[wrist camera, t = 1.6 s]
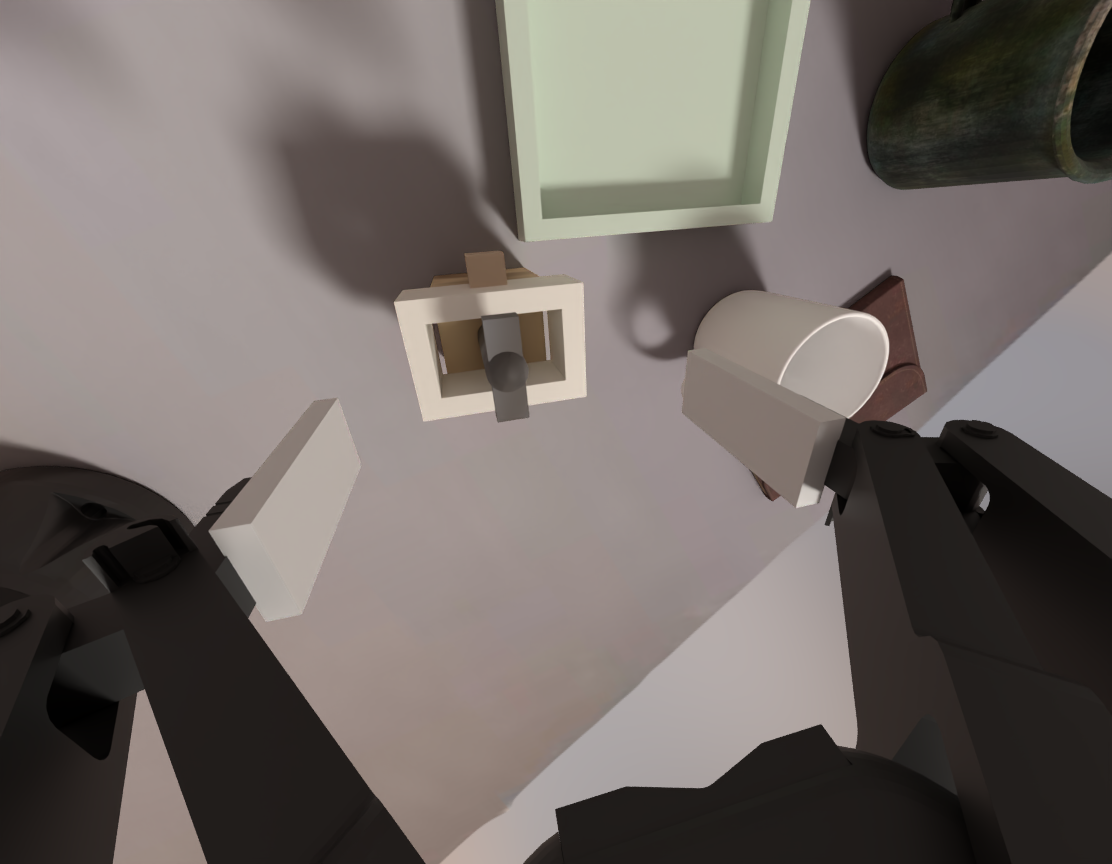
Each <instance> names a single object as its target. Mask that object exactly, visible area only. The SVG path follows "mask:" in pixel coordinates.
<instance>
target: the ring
mask: <svg viewBox="0 0 1112 864" xmlns="http://www.w3.org/2000/svg"><path fill="white" fill-rule="evenodd" d="M464 255H465V262H466V268H467V274H468V281H469V284H460V285H450V286H440V287H430V288H419V289H409V290H402V292H401V293H400V294H399V296H398V297H397V298H396V300H395V301H394V305H395V309H396V313H397V317H398V321H399V325H400V329H401V333H402V337H403V341H404V345H405V349H406V353H407V357H408V361H409V365H410V369H411V373H412V377H413V381H414V385H415V389H416V393H417V397H418V401H419V405H420V409H421V413H422V417H423V421H431V420H437V419H444V418H450V417H457V416H463V415H470V414H476V413H483V412H489V411H495V405H494V399H493V392H492V386H491V385H490V383H489V382H488V380H487V376H486V372H485V369H480V370H473V371H465V372H458V373H451V374H443V373H442V368H441V363H440V359H439V354H438V349H437V344H436V340H435V335H434V330H433V325H432V324H433V323H442V322H451V321H460V320H469V319H478V318H481V316H485V315H494V314H503V313H512V312H516V313H517V314H522V313H531V312H539V311H547V314H548V328H549V341H550V355H551V360H547V361H539V362H532V363H527V365H528V369H529V374H528V378H527V381H526V389H527V399H528V405H535V404H541V403H548V402H554V401H561V400H567V399H574V398H580V397H587V395H586V361H585V326H584V292H583V282H581V281H578V280H576V279H574V278H572V277H569V276H567V275H565V274H562V275H552V276H542V277H532V278H522V279H511V280H507V276H506V268H505V259H504V252H502V251H488V252H476V253H464Z"/></svg>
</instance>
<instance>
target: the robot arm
mask: <svg viewBox="0 0 1112 864" xmlns="http://www.w3.org/2000/svg"><path fill="white" fill-rule="evenodd" d="M682 413H683V414H684V415H685V416H686V417H687V418H689V419H690V420H691V421H692V422H693V423H695V424H696V425H697V426H698V427H699V428H701V429H702V430H703V431H704V432H705V433H707V434H708V435H709V436H710V437H711V438H713V439H714V440H715V441H716V442H717V443H719V444H720V445H721V446H722V447H723V448H725V449H726V450H727V451H728V452H729V453H731V454H732V455H733V456H734V457H735V458H737V459H738V460H739V461H740V462H741V463H743V464H744V465H745V466H746V467H747V468H749V469H750V470H751V471H752V472H753V473H755V474H756V475H757V476H758V477H759V478H761V479H762V480H763V481H764V482H765V483H766V484H768V485H769V486H770V487H771V488H772V489H774V490H775V491H776V492H777V493H778V494H780V495H781V496H782V497H783V498H784V499H786V500H787V501H788V502H789V503H790V504H792V505H793V506H794V507H795V508H798V507H803V506H807V505H812V504H816V503H819V501H820V498H821V495H822V492H823V489H824V486H825V485H826V486H827V487H829V488H830V489H832V490H833V491H834V492H836V493H835V496H834V498H833V501H832V504H831V507H830V510H829V513H828V516H827V519H826V522H825V525H827V526H829V525H830V522H831V521H834V528H835V537H836V545H837V553H838V562H839V571H840V580H841V588H842V597H843V605H844V614H845V622H846V630H847V639H848V648H849V657H850V665H851V674H852V682H853V691H854V699H855V708H856V717H857V727H858V737H857V745H856V749H853V748H847V747H842V746H837V745H836V744H835V742H834V741H833V740H832V738H831V737H830V736H829V734H828V733H827V731H826V730H825V729H824V727H823V726H822V725H817V726H814V727H811V728H808V729H805V730H801V731H799V732H796V733H792V734H789V735H786V736H783V737H780V738H776V739H773V740H770V741H767V742H764V743H761V744H760V745H759V746H758V747H757V748H756V749H754V750H753V751H752V752H750V754H748V755H747V756H746V757H745V758H743V759H742V760H741V761H740V762H739V763H737V764H736V765H735V766H734V767H732V768H731V769H730V770H729V771H728V772H726V773H725V774H724V775H723V776H722V777H720V778H719V779H718V780H717V781H715V782H714V783H713V784H712V785H710V786H708V787H705V788H662V787H623V788H620V789H617V790H614V791H611V792H608V793H605V794H601V795H598V796H595V797H592V798H589V799H586V800H583V801H580V802H576V803H574V804H570V805H567V806H564V807H561V808H558V809H555V811H556V818H557V824H558V830H559V833H558V832H557V833H556V834H554V835H553V836H552V837H550V838H549V839H548V840H546V841H545V842H544V843H542V844H541V846H540V847H539V848H538V849H536V851H535V852H534V853H533V854H532V855H531V856H530V857H529V858H528V859H527V860H526V861H525V862H524V863H523V864H1112V499H1111V498H1110V497H1108V496H1107V495H1105V494H1104V493H1102V492H1100V491H1099V490H1098V489H1096V488H1094V487H1093V486H1091V485H1090V484H1088V483H1087V482H1085V481H1084V480H1082V479H1081V478H1079V477H1078V476H1076V475H1075V474H1073V473H1071V472H1070V471H1068V470H1067V469H1065V468H1064V467H1062V466H1061V465H1059V464H1058V463H1056V462H1055V461H1053V460H1052V459H1050V458H1048V457H1047V456H1045V455H1044V454H1042V453H1041V452H1039V451H1037V450H1036V449H1034V448H1033V447H1032V446H1030V445H1029V444H1027V443H1025V442H1024V441H1022V440H1021V439H1019V438H1018V437H1016V436H1015V435H1013V434H1012V433H1010V432H1008V431H1006V430H1004V429H1002V428H999V427H996V426H993V425H992V424H990V423H987V422H981V421H977V420H972V421H968V420H952V421H949V422H946V424H945V426H944V428H943V430H942V432H941V434H940V437H920V435H919V434H918V433H917V432H916V431H914V430H912V429H911V428H908V427H906V426H903V425H900V424H897V423H893V422H887V421H877V420H870V421H864V422H861V423H857V422H855V421H853V420H851V419H848V418H846V417H844V416H842V415H840V414H838V413H836V412H834V411H832V410H830V409H828V408H825V407H824V406H822V405H820V404H818V403H815V402H814V401H812V400H810V399H808V398H806V397H804V396H802V395H799V394H797V393H795V392H793V391H791V390H789V389H787V388H785V387H783V386H781V385H779V384H777V383H775V382H773V381H771V380H769V379H767V378H765V377H763V376H761V375H759V374H757V373H755V372H753V371H751V370H749V369H747V368H745V367H743V366H741V365H739V364H737V363H735V362H733V361H730V360H728V359H726V358H724V357H722V356H720V355H718V354H716V353H714V352H712V351H710V350H708V349H706V348H702V349H695V350H688V355H687V365H686V375H685V385H684V396H683V406H682ZM360 467H361V462H360V459H359V456H358V453H357V451H356V448H355V445H354V442H353V439H352V437H351V434H350V431H349V428H348V425H347V422H346V420H345V417H344V414H343V411H342V408H341V406H340V403H339V400H338V398H333V399H325V400H318V401H314V402H313V403H312V404H311V405H310V407H309V408H308V409H307V410H306V411H305V413H304V414H303V415H302V416H301V418H300V419H299V420H298V421H297V423H296V424H295V425H294V426H293V427H292V429H291V430H290V431H289V432H288V434H287V435H286V436H285V437H284V439H283V440H282V441H281V442H280V443H279V445H278V446H277V447H276V448H275V450H274V451H273V452H272V453H271V455H270V456H269V457H268V458H267V459H266V461H265V462H264V463H263V464H262V466H261V467H260V468H259V469H258V471H257V472H256V473H255V474H254V475H253V477H250V478H244V479H243V480H241V481H240V482H238V483H237V484H236V485H234V486H233V487H231V488H230V489H228V490H227V491H226V492H225V493H224V494H223V495H222V497H221V498H220V499H219V500H218V501H217V502H216V503H215V504H216V506H213V507H212V508H211V509H210V510H209V512H208V513H207V514H206V517H203V518H202V520H201V521H200V522H199V523H198V524H197V525H196V526H195V527H194V526H193V524H192V523H191V522H190V521H189V520H188V519H187V518H186V517H185V516H184V514H182V513H181V512H180V511H179V510H178V509H177V508H176V507H174V506H173V505H172V504H170V503H169V502H167V501H166V500H165V499H163V498H161V497H160V496H158V495H156V494H155V493H153V492H151V491H149V490H147V489H145V488H143V487H141V486H139V485H136V484H134V483H131V482H129V481H126V480H123V479H121V478H117V477H114V476H111V475H107V474H103V473H99V472H95V471H90V470H84V469H78V468H70V467H56V466H35V467H23V468H15V469H10V470H5V471H1V472H0V864H113V857H114V850H115V843H116V836H117V829H118V822H119V815H120V808H121V801H122V794H123V787H124V780H125V774H126V767H127V760H128V753H129V746H130V739H131V732H132V725H133V718H134V711H135V704H136V697H137V692H139V691H141V690H144V689H145V691H146V694H147V696H148V699H149V702H150V705H151V708H152V710H153V713H154V716H155V719H156V721H157V724H158V727H159V730H160V733H161V735H162V738H163V741H164V744H165V747H166V749H167V752H168V755H169V758H170V761H171V763H172V766H173V769H174V772H175V774H176V777H177V780H178V783H179V786H180V788H181V791H182V794H183V797H184V800H185V802H186V805H187V808H188V811H189V813H190V816H191V819H192V822H193V825H194V827H195V830H196V833H197V836H198V839H199V841H200V844H201V847H202V850H203V853H204V855H205V858H206V861H207V864H425V862H424V861H423V859H422V858H421V857H420V855H419V854H418V852H417V851H416V850H415V848H414V847H413V845H412V844H411V843H410V841H409V840H408V839H407V837H406V836H405V834H404V833H403V832H402V830H401V829H400V827H399V826H398V825H397V823H396V822H395V820H394V819H393V818H392V816H391V815H390V814H389V812H388V811H387V810H386V808H385V807H384V805H383V804H382V803H381V802H380V800H379V799H378V798H377V797H376V796H375V795H374V794H373V792H372V791H371V790H370V788H369V787H368V785H367V784H366V783H365V781H364V780H363V778H362V777H361V776H360V774H359V773H358V771H357V770H356V769H355V767H354V766H353V764H352V763H351V762H350V760H349V759H348V757H347V756H346V755H345V753H344V752H343V750H342V749H341V748H340V746H339V745H338V743H337V742H336V741H335V739H334V738H333V737H332V735H331V734H330V732H329V731H328V730H327V728H326V727H325V725H324V724H323V723H322V721H321V720H320V718H319V717H318V716H317V714H316V713H315V711H314V710H313V709H312V707H311V706H310V704H309V703H308V702H307V700H306V699H305V697H304V696H303V695H302V693H301V692H300V690H299V689H298V688H297V686H296V685H295V683H294V682H293V681H292V679H291V678H290V676H289V675H288V674H287V672H286V671H285V669H284V668H283V667H282V665H281V664H280V662H279V661H278V660H277V658H276V657H275V655H274V654H273V653H272V651H271V650H270V648H269V647H268V646H267V644H266V643H265V641H264V640H263V639H262V637H261V636H260V634H259V633H258V632H257V630H256V629H255V628H254V626H253V625H252V623H251V622H250V621H249V619H248V618H249V616H250V614H251V612H252V610H253V608H254V606H255V605H256V607H257V609H258V610H259V612H260V613H261V615H262V616H263V618H264V620H265V621H266V622H269V621H273V620H278V619H283V618H287V617H292V616H297V615H301V614H302V613H303V611H304V608H305V606H306V603H307V601H308V598H309V595H310V593H311V590H312V588H313V585H314V583H315V580H316V578H317V575H318V573H319V570H320V568H321V565H322V563H323V560H324V558H325V555H326V553H327V550H328V548H329V545H330V543H331V540H332V538H333V535H334V533H335V530H336V528H337V525H338V523H339V520H340V518H341V515H342V513H343V510H344V508H345V505H346V503H347V500H348V498H349V495H350V493H351V490H352V487H353V485H354V482H355V480H356V477H357V475H358V472H359V470H360ZM987 491H989V494H990V502H989V505H988V507H987V509H986V511H984V510H983V509H982V508H981V507H980V506H979V505H980V503H981V502H982V500H983V498H984V496H985V494H986V493H987ZM559 837H560V838H559Z"/></svg>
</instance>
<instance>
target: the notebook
mask: <svg viewBox="0 0 1112 864" xmlns="http://www.w3.org/2000/svg"><path fill="white" fill-rule="evenodd" d="M848 309H850V310H855V311H859V312H864V313H867V314H870V315H872V316H874V317H875V318H877V319H878V320H879V321H880V322H881V323H882V325H883V326H884V327H885V330H886V332H887V335H888V339H889V355H888V361H887V365H886V368H885V371H884V374H883V376H882V378H881V380H880V382H879V384H878V386H877V387H876V389H875V391H874V392H873V394H872V395H871V396H870V398H869V399H868V400H867V401H866V403H865V404H864V405H863V406H862V407H861V408H860V409H859V410H858V411H857V412H856V413H855V414H854V415H853V416H851V417H850V418H849V419H851V420H853V421H855V422H857V423H861V422H864V421H870V420H877V421H886V420H887V419H889V418H890V417H892V416H893V415H895V414H896V413H897V412H899V411H900V410H902V409H903V408H904V407H906V406H907V405H909V404H910V403H911V402H913V401H914V400H916V399H917V398H918V397H920V396H921V395H923V394H924V393H925V392H927V387H926V382H925V376H924V373H923V371H922V369H921V368H920V363H919V358H918V352H917V347H916V342H915V337H914V332H913V326H912V321H911V316H910V311H909V305H908V300H907V295H906V290H905V285H904V280H903V279H902V278H900V277H898V276H890V277H889V278H888V279H886V280H885V281H884V282H882V283H881V284H880V285H878V286H877V287H876V288H874V289H873V290H872V291H870V292H869V293H868V294H866V295H865V296H864V297H863V298H861V299H860V300H859V301H857V302H856V303H855V304H853V305H852V306H851V307H849V308H848ZM752 473H753V472H752ZM753 474H754V476H755V478H756V479H757V481H758V483H759V485H760V486H761V488H762V490H763V492H764V493H765V494H764V495H765V496H766V497H767V498H768V499H769V500H771V501H774V500H775V499H777V498H778V497H779V496H781V495H780V494H778V493H777V492H776V491H775V490H774V489H772V488H771V487H770V486H769V485H768V484H766V483H765V482H764V481H763V480H762V479H761V478H759V477H758V476H757V475H756V474H755V473H753Z"/></svg>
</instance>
